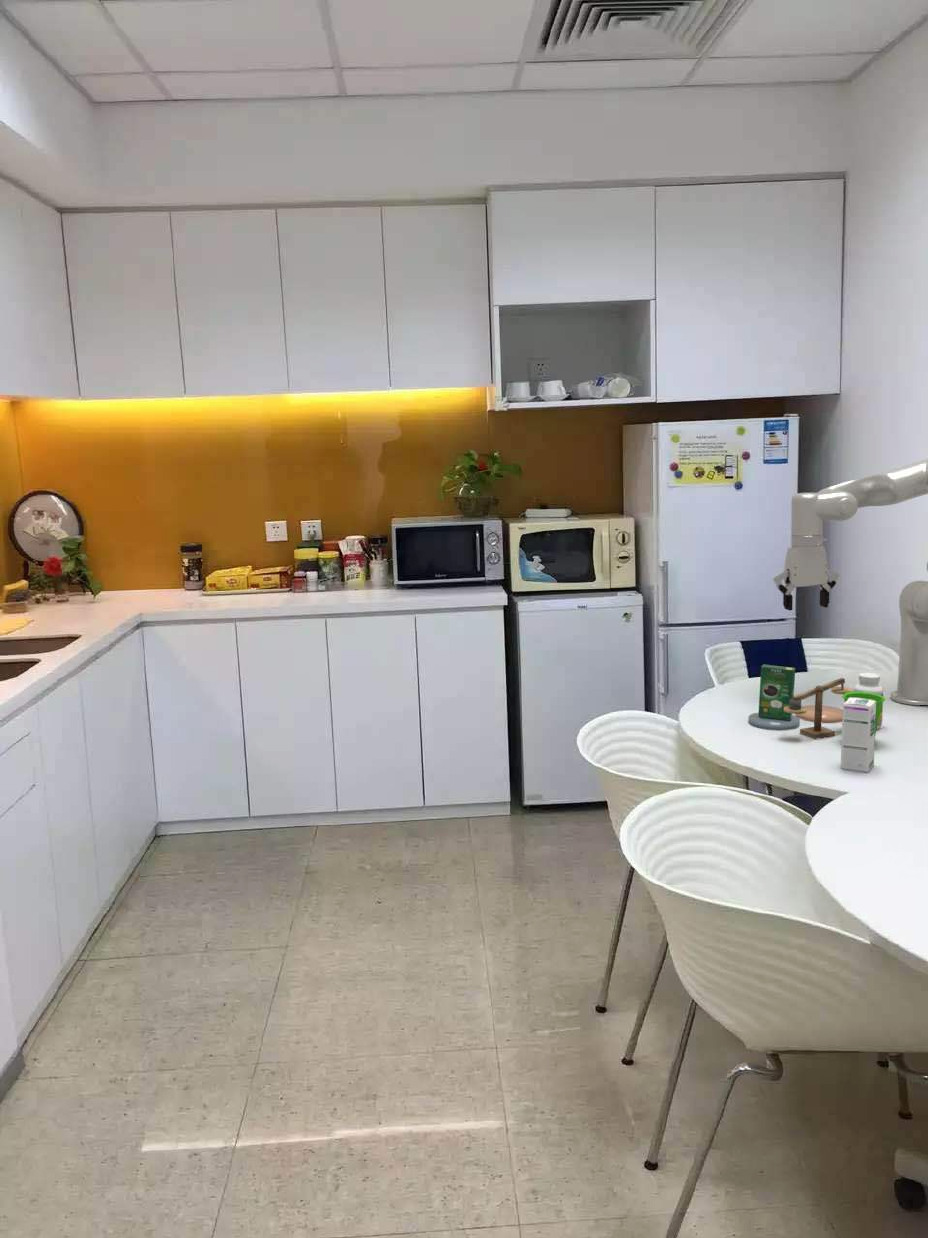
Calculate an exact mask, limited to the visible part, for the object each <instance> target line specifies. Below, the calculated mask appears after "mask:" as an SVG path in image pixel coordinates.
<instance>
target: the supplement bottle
mask: <svg viewBox="0 0 928 1238" xmlns="http://www.w3.org/2000/svg"><path fill="white" fill-rule="evenodd" d="M858 681H859V682H858V683H857V684H855V685H854V687H853V690H854V692H868V693H874V694H878V695H881V696H883V697H884V689H883V687H882V686H881V685H880V684H879V683H880V681H881V675H879V674H878V673H872V672H863V673H862V672H861V673H859V674H858ZM883 705H884V703H883V704H882V709H881V713H880V717H879V722H878V726H877V730H880V729H881V728H882V727H883V726H882V724H883V707H884V706H883Z"/></svg>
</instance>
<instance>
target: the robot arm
mask: <svg viewBox="0 0 928 1238" xmlns="http://www.w3.org/2000/svg"><path fill="white" fill-rule="evenodd" d="M925 495H928V458H926V459H923V460H919V461H916V462H912V463H911V464H910V463H909V464H907V465H904V466H901V467H898V468H894V469H891V470H888V471H884V472H881V473H875V474H871V475H868V476H865V477H861V478H857V479H853V480H849V481H845V482H841V483H839V484H835V485H832V486H828V487H825V488H823V489H821V490H819V491H817V492H799V493H795V494H794V495H793V496H792V497H791V505H790V506H791V508H790V509H791V513H790V514H791V516H790V517H791V522H790V523H791V525H790V526H791V527H790V529H791V530H790V534H791V535H790V536H791V537H790V541H791V543H790V546H788V548H787V550H786V555H785V561H784V568H783V569H784V570H783V572H781V573H779V574H778V575H776V576H775V577H774V578H773V579H772V580H773V582H774V584H775V586H776V588H777V589H778V590H779V591H780V592H781V594H782V595H783V598H782V602H783V603H782V604H783V607H784V609H785V610H788V611H793V606H794V605H793V595H792V594H791V593H792V592H793V591H794V590H795V588H804V587H817V586H819V587H820V589H821V590H820V591H819V606H820V607H822V608H825V609H826V608H829V604H830V592H832V589H833V588H834V587H835V585H837V582H838V580H839V578H840V573H838V572H837V571H834V570H832V569H830V568H829V567H828V558H827V552H826V547H825V546H823V545H824V543H825V542H827V541H828V536H827V535H824V534H823V530H824V529H823V528H824V527H823V526H824V525H823V521H835V522H844V521H848V520H849V519H851V518H853V517H854V516H855V515H856V513H857V512H858V509H861V508H866V507H885V506H892V505H897V504H900V503H903V502H907V501H908V500H912V499H915V498H919V497H922V496H925ZM926 571H927V572H928V561H927V563H926ZM829 576H830V578H829ZM828 578H829V579H830V580H829V579H828ZM783 582H784V584H785V585H784V584H783ZM898 604H899V605H898V607H899V615H900V642H899V643H900V644H899V655H898V656H899V659H898V672H897V673H898V675H897V676H898V678H897V690H895V691H892V692H891V693H890V699H891V700H893V701H895V702H897V703H900V704H904V705H905V704H906V705H912V706H920V705H928V580H927V581H926V580H914V581H911V582H910V583H907V584H906V585H905V586H904V587H903V588H902V589H901V592H900V593H899V599H898Z"/></svg>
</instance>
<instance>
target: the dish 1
mask: <svg viewBox="0 0 928 1238" xmlns="http://www.w3.org/2000/svg"><path fill="white" fill-rule="evenodd" d="M758 714H759V712H754V713H752V714H749V715H748V724H749V725H750V726H751V727H752V726H753V727H754V728H757V729H758V728H759V729H762V730H766V731H767V730H769V731H788V730H789V731H790V730H795V729H797V728H799V727H800V724H801V723H800V718H799V717H797V716H796V715H794V714H792V719H791V721H786V720H779V719H770V718H762V717H758Z"/></svg>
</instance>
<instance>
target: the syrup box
mask: <svg viewBox="0 0 928 1238" xmlns="http://www.w3.org/2000/svg"><path fill="white" fill-rule="evenodd" d="M842 710H843V717H842V721H841V749H840V750H841V751H840V753H841V754H840V768H841V769H844V770H848V771H854V772H855V771H856V772H861V773H869V771H871V769H872V768H873V766H874V764H875V745H876V735H875V719H876V701H875V700H871V699H865V698H850V697H849V699H848V700H847V701H845V702H844V703H843V704H842Z"/></svg>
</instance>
